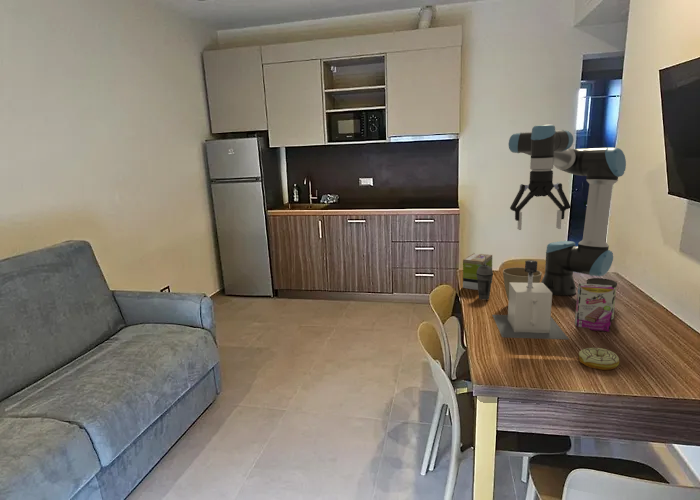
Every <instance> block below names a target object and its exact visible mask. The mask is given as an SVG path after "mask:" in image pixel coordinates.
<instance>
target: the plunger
mask: <svg viewBox="0 0 700 500" xmlns="http://www.w3.org/2000/svg"><path fill="white" fill-rule="evenodd" d="M524 268H525V272H528V288H532V284H533V273H535V272H537V270H538V261H537V260H532V259H528V260H525V262H524Z"/></svg>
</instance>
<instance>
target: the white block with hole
mask: <svg viewBox="0 0 700 500" xmlns="http://www.w3.org/2000/svg"><path fill="white" fill-rule="evenodd" d="M552 301H553V294H552V292H551V291H550V290H549V289H548V288H547V287H546V286H545V285H544V283H541V282H540V283H533V284H532V288H528V283H517V282H509V301H508V306H507V307H508V308H507V315H508V321H509V323H510V325H511V327H512V329H513V331H514V332H531V333H550V319H551V317H552Z"/></svg>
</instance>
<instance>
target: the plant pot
mask: <svg viewBox="0 0 700 500" xmlns="http://www.w3.org/2000/svg"><path fill="white" fill-rule="evenodd" d="M542 273H543V272H542V271H540V270H538V269H537V272H535V273H533V283H541V280H542V279H541V278H542ZM502 275H503V283H504V289H505V293H506V298H507V301H508V302H509V282H517V283H528V272H525V267H508V268H504V269H502Z"/></svg>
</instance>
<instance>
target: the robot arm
mask: <svg viewBox="0 0 700 500" xmlns="http://www.w3.org/2000/svg"><path fill="white" fill-rule="evenodd" d="M573 143H574V136H573V134H572V132H571V131H570V130H564V129H559V130H557V129H556V126H555V125H554V124H544V125H543V124H541V125H534V126H532V129H531V132H518V133H513V134H512V135H511V136H510V137H509V139H508V150H509V151H510V152H511V153H514V154H522V153H523V154H526V155H528V156H530V161H529V162H530V163H529V164H530V165H529V169H530V170H531V171H529V184H523V183H522V184H520V185H519V190H518V192H517V194H516V195H515V198H514V200H513V202H512V203H511V205H510V207H509V210H511V211H513V212H514V220H515V221H517V227H516V228H517V230H518V231H522V222H523V221H522V219H523V217H522V216H523V212H522V210H523V208H524V207H525V206H526V205H527V204H528V203H529V201H530V200H531V199H533V198H534V197H536V198H537V197H538V198H539V197H549V199H550V200H551V201H552V202H553V203H554V205H555V206H556V207H557V208H558V209H557V210H556V224H555V225H556V227H555V228H556V229H558V230H561V229H562V220H565V212H566V210H570V209H571V204H570V202H569V200H568V199H567V196H566V193H565V192H564V190H563V184H562V183H561V182H556V183H553V181H554V179H553V178H554V171H553V170H552V169H554V168H556V169H557V170H560V171H562V172H565V173H568V174H571V175H575V176H581V177H585V178H586V180H585V181H586V182H587V183H588V184H589V186H588V193H587V194H588V195H587V202H586V208H585V209H586V210H585V217H584V218H585V219H584V226H583V227H584V228H583V233H582V234H583V236H582V240H580V241H579V242H578V243H577V245H576V242H575V241H572V240H571V241H570V240H567V241H566V240H564V241H554V242H549V243H548V244H547V245H546V250H545V265H544V266H545V267H544V275H543V278H542V279H541V280H540V283H544V285H545V286H546V287H547V288H548V289H549V290H550V291H551V292H552V296H553V295H554V296H572V295H575V294H576V293H577V286H576V282H575V280H574V276H573V275H574V273H577V274H578V273H579V274H582V275H588V276H591V277H593V276H595V277H603V276H605V275H606V274H607V273H608V272H609V271H610V269H611V266H612V264H613V261H614V254H613V251H611V250H609V247H610V245H609V244H608V243H607V242H606V239H607V231H608V223H609V217H610V210H611V200H612V194H613V187H614V185H615V184H616V183H618V181H619V178H620V177H622V176H624V174H625V171H626V169H627V167H626V166H627V161H626V159H627V158H626V156H625V153H624V151H623V150H622V149H621V148H618V147H610V146H609V147H593V148H590V147H589V148H571V147H572V146H573ZM553 189H555V190H556V191H557V193H558V195H559V198H560V199H561V202H562V203H561V202H560V201H559V199H558V198H557V197H556V196H555V195H554V193H553V192H552V190H553ZM527 190H529V192H528V193H527V195H526V196H525V197H524V198H523V200H521V199H522V197H523V195H524V193H525V192H526V191H527ZM520 201H521V202H520ZM519 202H520V203H519Z"/></svg>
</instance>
